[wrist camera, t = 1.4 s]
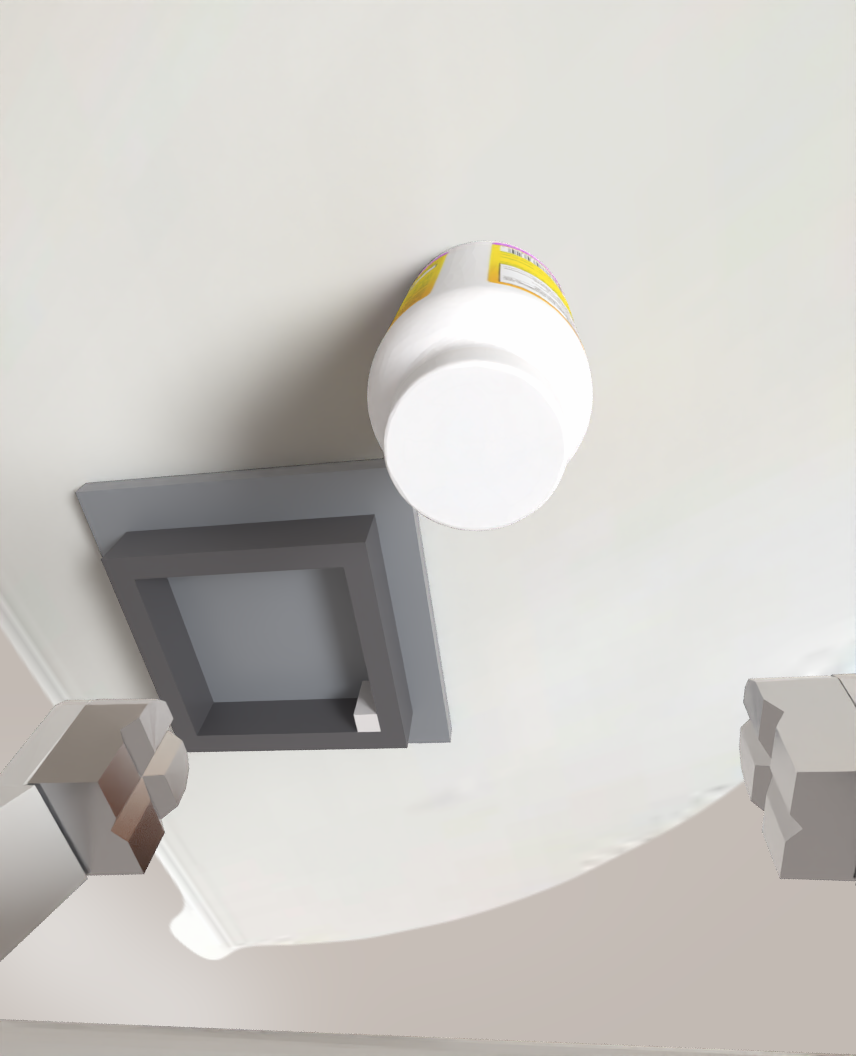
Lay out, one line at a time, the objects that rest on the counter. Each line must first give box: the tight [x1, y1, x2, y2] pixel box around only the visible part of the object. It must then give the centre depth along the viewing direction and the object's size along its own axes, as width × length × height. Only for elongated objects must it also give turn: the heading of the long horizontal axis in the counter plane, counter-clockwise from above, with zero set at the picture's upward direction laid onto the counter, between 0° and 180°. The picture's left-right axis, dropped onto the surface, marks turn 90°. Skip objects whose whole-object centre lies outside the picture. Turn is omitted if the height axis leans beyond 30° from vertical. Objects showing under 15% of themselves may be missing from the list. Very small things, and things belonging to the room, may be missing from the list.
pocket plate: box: [75, 459, 452, 752], centre depth 36 cm, size 17×16×4 cm
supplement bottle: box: [367, 241, 593, 531], centre depth 23 cm, size 7×7×13 cm
